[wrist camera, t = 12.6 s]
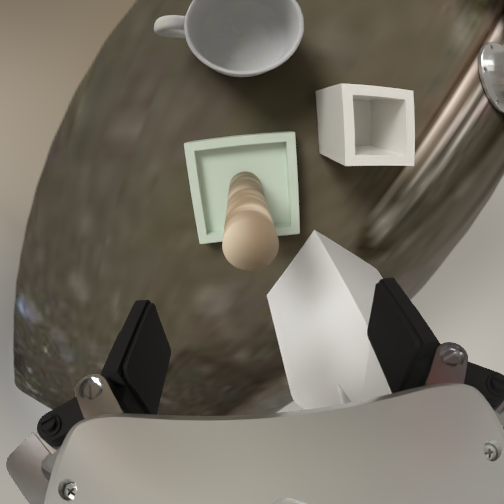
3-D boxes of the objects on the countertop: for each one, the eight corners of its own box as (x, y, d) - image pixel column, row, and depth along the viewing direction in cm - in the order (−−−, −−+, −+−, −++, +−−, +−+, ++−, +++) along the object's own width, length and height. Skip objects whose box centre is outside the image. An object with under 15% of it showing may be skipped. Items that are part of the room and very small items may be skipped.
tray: (291, 131, 31) (294, 132, 29) (296, 226, 36) (299, 233, 34) (187, 142, 31) (183, 143, 29) (201, 236, 36) (199, 243, 34)
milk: (266, 295, 41) (292, 474, 18) (314, 229, 37) (407, 400, 13) (330, 324, 44) (381, 473, 21) (376, 269, 40) (471, 410, 17)
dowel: (259, 169, 32) (277, 216, 18) (262, 199, 34) (280, 267, 19) (227, 173, 32) (218, 222, 18) (231, 203, 34) (226, 273, 19)
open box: (374, 93, 29) (413, 90, 21) (376, 152, 32) (414, 165, 24) (315, 91, 29) (341, 83, 21) (319, 153, 32) (345, 166, 24)
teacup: (300, 18, 25) (317, -6, 17) (274, 95, 29) (285, 88, 22) (186, -7, 22) (173, -35, 15) (158, 69, 27) (135, 57, 20)
